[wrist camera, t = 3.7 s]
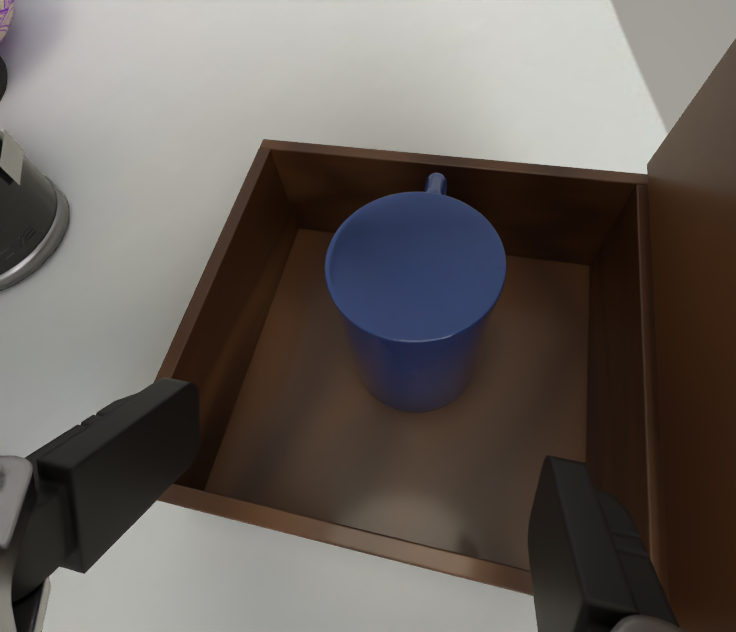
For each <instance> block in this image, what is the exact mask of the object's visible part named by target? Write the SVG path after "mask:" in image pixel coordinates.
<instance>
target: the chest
mask: <svg viewBox="0 0 736 632" xmlns="http://www.w3.org/2000/svg"><path fill="white" fill-rule="evenodd" d="M432 173H441V174H443V175H444V176H445V178H446V180H447V189H446V196H449V197H452V198H454V199H457V200H460V201H462V202H464V203H465V204H467V205H469V206H471V207H472V208H474V209H475V210H477V211H478V212H479V213H480V214H482V215H483V216H484V217H485V218H486V219H487V220H488V221H489V222H490V224H491V225H492V226H493V227H494V229H495V230H496V232H497V233H498V235H499V237H500V239H501V242H502V244H503V247H504V250H505V254H506V262H507V271H506V278H505V283H504V287H503V290H502V293H501V296H500V298H499V301H498V303H497V305H496V306H495V308H494V310H493V313H492V317H491V320H490V323H489V327H488V330H487V334H486V337H485V340H484V344H483V347H482V351H481V354H480V357H479V361H478V364H477V368H476V371H475V374H474V376H473V379H472V380H471V382H470V384H469V386H468V387H467V388H466V390H465V391H464V392H463V393H462V394H461V395H460V396H459V397H458V398H457V399H455V400H454V401H453V402H451V403H449V404H447V405H446V406H444V407H441V408H439V409H436V410H432V411H427V412H406V411H401V410H397V409H394V408H392V407H389V406H387V405H385V404H383V403H382V402H380V401H379V400H377V399H376V398H375V397H373V396H372V395H371V394H370V393H369V392H368V391H367V389H366V388H365V387H364V385H363V384H362V382H361V380H360V378H359V376H358V373H357V371H356V368H355V364H354V361H353V358H352V355H351V352H350V348H349V345H348V342H347V339H346V336H345V332H344V329H343V326H342V323H341V320H340V316H339V313H338V311H337V309H336V308H335V306H334V304H333V302H332V299H331V297H330V294H329V291H328V288H327V284H326V279H325V258H326V254H327V250H328V247H329V245H330V242H331V240H332V238H333V236H334V235H335V233H336V231H337V230H338V229H339V227H340V226H341V225H342V223H343V222H344V221H345V220H346V219H347V218H348V217H349V216H351V215H352V214H353V213H354V212H356V211H357V210H358V209H360V208H361V207H363V206H365V205H366V204H368V203H370V202H372V201H375V200H377V199H380V198H382V197H385V196H389V195H393V194H398V193H405V192H423V191H424V187H425V183H426V179H427V178H428V176H429V175H431V174H432ZM164 377H166V378H171V379H176V380H181V381H186V382H191V383H195V384H196V385H197V387H198V390H199V410H200V445H199V450H198V453H197V456H196V458H195V460H194V461H193V463H192V464H191V466H190V467H189V468H188V469H187V470H186V471H185V472H184V473H183V474H182V475H181V476H180V477H179V478H178V479H177V480H176V481H175V482H174V483H173V484H172V485H171V486H170V487H169V488H168V489H167V490H166V491H165V492H164V493H163V494H162V495H161V496H160V497H159V498H158V499H157V500H158V501H162V502H166V503H170V504H174V505H178V506H181V507H185V508H189V509H193V510H197V511H201V512H205V513H209V514H213V515H217V516H221V517H225V518H229V519H233V520H237V521H240V522H244V523H248V524H252V525H256V526H260V527H264V528H268V529H272V530H276V531H280V532H284V533H288V534H292V535H296V536H300V537H304V538H307V539H311V540H315V541H319V542H323V543H327V544H331V545H335V546H339V547H343V548H347V549H351V550H355V551H359V552H363V553H367V554H370V555H374V556H378V557H382V558H386V559H390V560H394V561H398V562H402V563H406V564H410V565H414V566H418V567H422V568H426V569H430V570H434V571H437V572H441V573H445V574H449V575H453V576H457V577H461V578H465V579H469V580H473V581H477V582H481V583H485V584H489V585H493V586H497V587H500V588H504V589H508V590H512V591H516V592H520V593H524V594H528V595H532V596H534V594H533V586H532V578H531V570H530V561H529V553H528V526H529V519H530V514H531V510H532V506H533V502H534V498H535V493H536V489H537V485H538V481H539V477H540V473H541V469H542V465H543V462H544V459H545V457H546V456H547V455H549V456H554V457H559V458H564V459H569V460H574V461H579V462H584V463H586V465H587V467H588V469H589V472H590V475H591V478H592V481H593V483H594V486H595V489H596V491H601V492H606V493H611V494H612V495H613V496H614V497H615V498H616V499H617V500H618V501H619V502H620V503H621V504H622V505H623V506H624V507H625V508H626V510H627V511H628V512H629V513H630V514H631V516H632V518H633V520H634V523H635V525H636V527H637V530H638V532H639V534H640V539H641V540H642V541H643V543H644V546H645V548H646V550H647V553H648V558H650V560H651V562H652V564H653V566H654V569H655V571H656V573H657V576H658V578H659V580H660V583H661V585H662V587H663V589H664V592H665V594H666V596H667V599H668V601H669V588H668V568H667V549H666V529H665V509H664V489H663V469H662V450H661V430H660V410H659V390H658V370H657V351H656V331H655V311H654V291H653V271H652V251H651V232H650V212H649V192H648V174H637V173H626V172H615V171H604V170H593V169H582V168H571V167H560V166H549V165H539V164H528V163H517V162H506V161H495V160H484V159H473V158H462V157H451V156H440V155H430V154H419V153H408V152H397V151H386V150H375V149H364V148H353V147H342V146H332V145H321V144H310V143H299V142H288V141H277V140H266V139H264V140H263V141H262V143H261V146H260V148H259V150H258V152H257V154H256V156H255V159H254V161H253V163H252V165H251V168H250V170H249V172H248V174H247V176H246V179H245V181H244V183H243V185H242V188H241V190H240V192H239V194H238V196H237V199H236V201H235V203H234V205H233V208H232V210H231V212H230V214H229V216H228V219H227V221H226V223H225V225H224V228H223V230H222V232H221V234H220V236H219V239H218V241H217V243H216V245H215V248H214V250H213V252H212V254H211V257H210V259H209V261H208V263H207V265H206V268H205V270H204V272H203V274H202V277H201V279H200V281H199V283H198V285H197V288H196V290H195V292H194V294H193V297H192V299H191V301H190V303H189V305H188V308H187V310H186V312H185V314H184V317H183V319H182V321H181V323H180V325H179V328H178V330H177V332H176V334H175V337H174V339H173V341H172V343H171V346H170V348H169V350H168V352H167V354H166V357H165V359H164V361H163V363H162V366H161V368H160V370H159V372H158V374H157V377H156V379H155V381H154V383H155V382H156V381H158V380H159V379H161V378H164Z"/></svg>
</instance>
